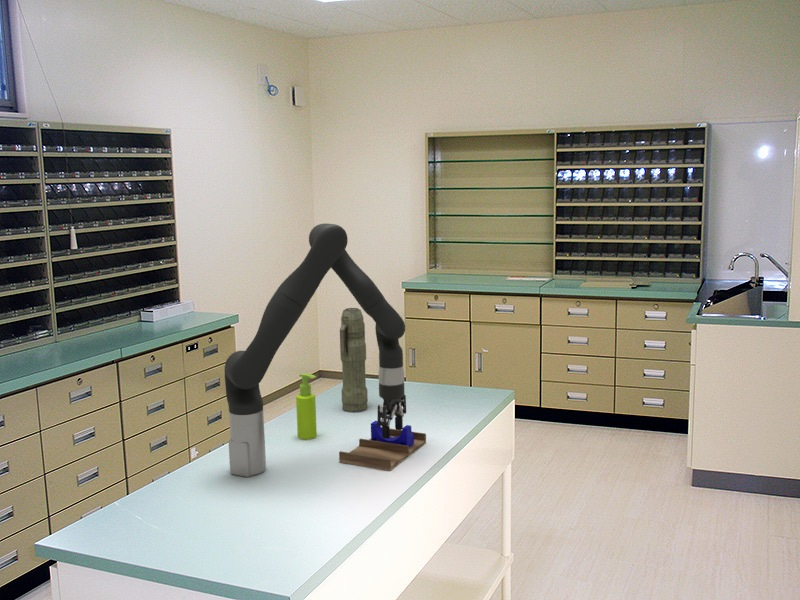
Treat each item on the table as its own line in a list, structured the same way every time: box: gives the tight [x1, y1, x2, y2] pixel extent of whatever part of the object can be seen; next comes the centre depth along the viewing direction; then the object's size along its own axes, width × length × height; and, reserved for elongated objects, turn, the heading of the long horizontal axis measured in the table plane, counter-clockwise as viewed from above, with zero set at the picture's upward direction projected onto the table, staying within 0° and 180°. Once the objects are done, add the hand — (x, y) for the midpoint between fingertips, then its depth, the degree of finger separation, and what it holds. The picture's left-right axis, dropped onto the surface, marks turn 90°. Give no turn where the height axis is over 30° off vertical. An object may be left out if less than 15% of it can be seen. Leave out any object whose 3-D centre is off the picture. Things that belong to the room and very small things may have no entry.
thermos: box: [339, 307, 369, 413], centre depth 268 cm, size 9×12×35 cm
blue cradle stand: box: [370, 420, 414, 447], centre depth 232 cm, size 12×4×6 cm, turn 63°
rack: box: [338, 426, 427, 472], centre depth 228 cm, size 24×16×3 cm, turn 154°
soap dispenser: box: [295, 372, 318, 441], centre depth 241 cm, size 6×7×20 cm
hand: (392, 433), depth 233 cm, fingers open, 8 cm apart
